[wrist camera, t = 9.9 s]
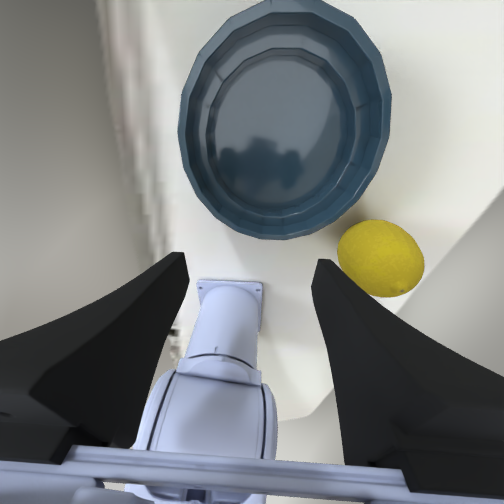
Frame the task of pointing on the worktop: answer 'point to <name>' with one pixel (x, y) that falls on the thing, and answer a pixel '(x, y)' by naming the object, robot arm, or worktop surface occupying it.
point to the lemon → (380, 258)
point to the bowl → (284, 118)
